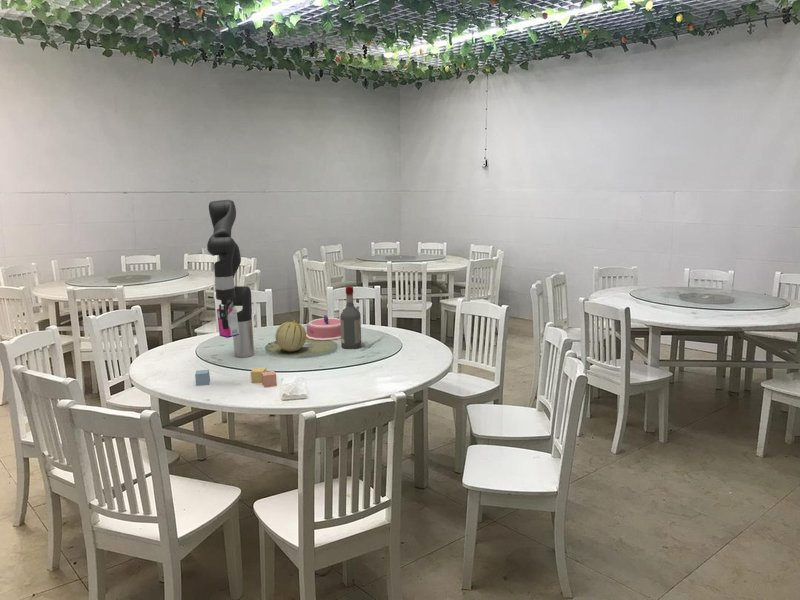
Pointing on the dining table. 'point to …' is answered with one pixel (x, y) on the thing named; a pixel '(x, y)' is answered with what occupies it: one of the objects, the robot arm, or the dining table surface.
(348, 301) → the liquor
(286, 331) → the cantaloupe
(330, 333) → the cake
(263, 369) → the ochre block
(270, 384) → the terracotta block
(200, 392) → the dining table surface
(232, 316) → the supplement box
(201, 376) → the slate block
